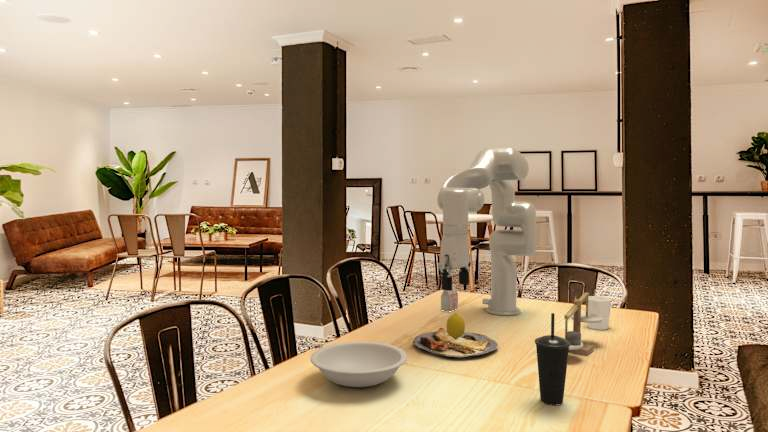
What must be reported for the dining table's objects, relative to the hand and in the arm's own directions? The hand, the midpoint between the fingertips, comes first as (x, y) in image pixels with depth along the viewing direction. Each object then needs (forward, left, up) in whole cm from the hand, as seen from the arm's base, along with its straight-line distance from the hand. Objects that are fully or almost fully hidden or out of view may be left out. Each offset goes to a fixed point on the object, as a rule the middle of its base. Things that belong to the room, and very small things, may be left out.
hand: (455, 287), depth 159 cm
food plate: (0, 0, -19) cm, 19 cm away
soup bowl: (-4, -39, -18) cm, 44 cm away
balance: (+30, +19, -18) cm, 40 cm away
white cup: (+27, +49, -18) cm, 59 cm away
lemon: (0, 0, -16) cm, 16 cm away
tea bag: (-26, +39, -18) cm, 50 cm away
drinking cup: (+38, -21, -18) cm, 47 cm away
